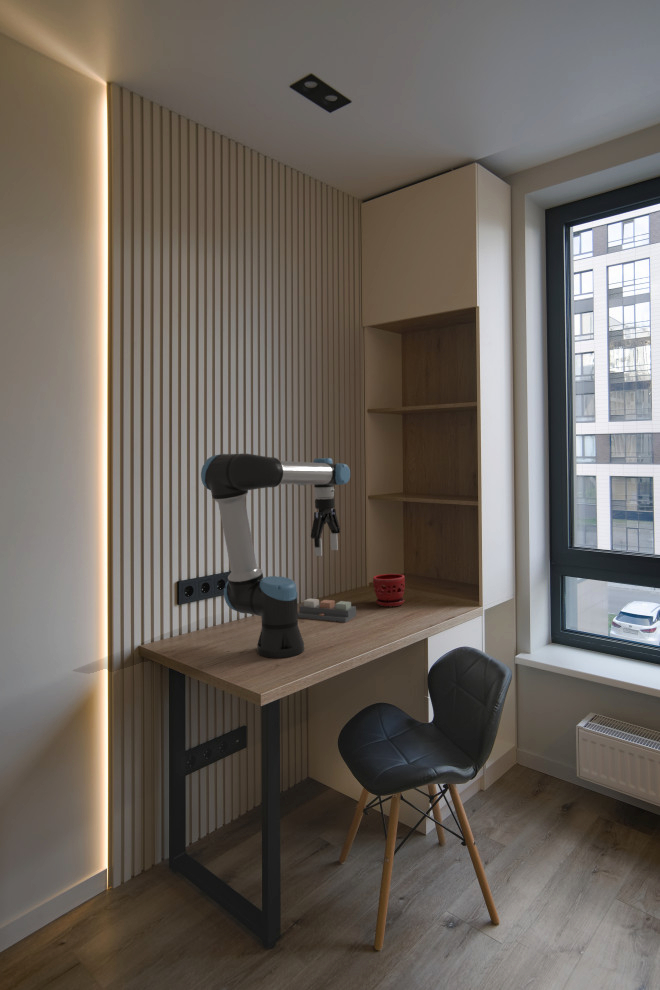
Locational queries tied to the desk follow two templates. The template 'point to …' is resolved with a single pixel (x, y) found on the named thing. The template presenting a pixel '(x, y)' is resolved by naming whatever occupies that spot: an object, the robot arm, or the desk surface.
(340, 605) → the sage key
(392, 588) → the plant pot
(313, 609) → the key console
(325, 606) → the terracotta key
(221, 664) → the desk surface
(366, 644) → the desk surface
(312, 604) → the ivory key
